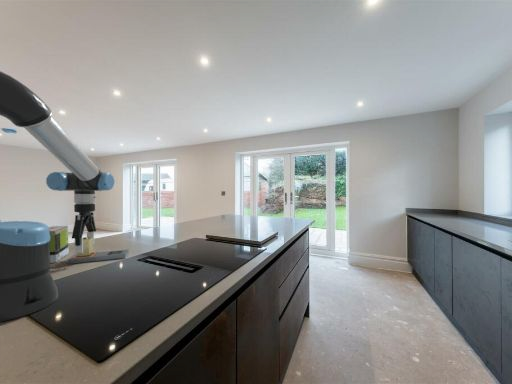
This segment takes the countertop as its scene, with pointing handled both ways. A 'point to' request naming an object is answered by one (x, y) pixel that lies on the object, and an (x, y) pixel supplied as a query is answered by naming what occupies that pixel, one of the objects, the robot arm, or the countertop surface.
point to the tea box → (58, 242)
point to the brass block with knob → (87, 247)
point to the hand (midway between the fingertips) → (85, 248)
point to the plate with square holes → (99, 256)
